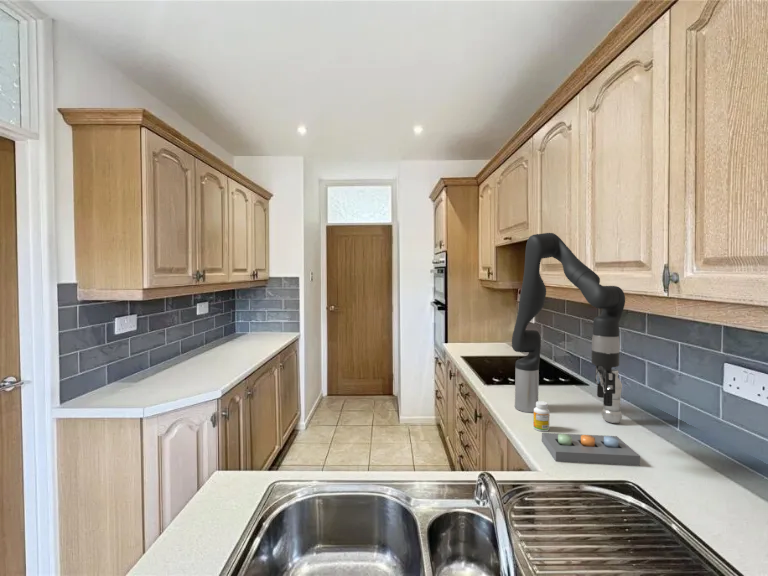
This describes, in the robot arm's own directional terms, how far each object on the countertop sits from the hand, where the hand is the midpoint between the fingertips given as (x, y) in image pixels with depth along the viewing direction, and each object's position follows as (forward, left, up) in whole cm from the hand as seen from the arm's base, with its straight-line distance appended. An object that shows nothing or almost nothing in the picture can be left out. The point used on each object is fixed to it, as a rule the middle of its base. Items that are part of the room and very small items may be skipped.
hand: (604, 401), depth 120 cm
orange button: (-1, -4, -14) cm, 15 cm away
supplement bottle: (-19, -13, -17) cm, 29 cm away
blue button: (-1, +3, -14) cm, 15 cm away
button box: (-1, -4, -17) cm, 18 cm away
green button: (-1, -11, -15) cm, 18 cm away
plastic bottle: (-29, +16, -17) cm, 37 cm away
